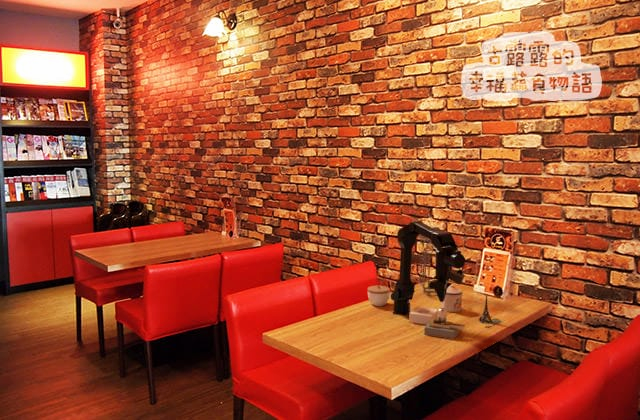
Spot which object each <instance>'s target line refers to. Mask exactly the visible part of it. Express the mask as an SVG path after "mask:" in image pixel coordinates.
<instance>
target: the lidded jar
mask: <svg viewBox="0 0 640 420" xmlns="http://www.w3.org/2000/svg"><path fill="white" fill-rule="evenodd" d="M390 293H391V289H390V287H388V286H385V285H380V284H379V285H371V286H368V287H367V297H368V300H369V302H370V303H371V304H372V306H376V307H383V305H384V306H385V305H386V304H387V303H388V301H389V299H390V297H391V294H390Z"/></svg>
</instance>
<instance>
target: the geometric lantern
mask: <svg viewBox="0 0 640 420" xmlns="http://www.w3.org/2000/svg"><path fill="white" fill-rule="evenodd" d="M432 228H434V229H436V230H438V231H443V230H442V229H441V228H440V227H437V226H433V227H432ZM417 237H419V239H420V243H421V245H422V247H423V250H421V252H422V253H421V265H420V273H419V282H418V283H419V285H420V286H421V287H422V289H423V291H422V293H424V294H425V295H426V296H427V297H438V296H437V294H434V293H436V291H432V290H431V289H430V288H429V283H430V282H431V281H432V280H430V270H431V269H430V263H431V257H436V254H433V252H434V251H433V249H427V248H428V246H429V244H430V245H432V246H433V247H434V248H435V246H434V245H433V244H432V243H431V240H430V239H428V238H426V237H425V236H423V235H421V234H419V235H418V236H417ZM454 241H455V239H454ZM455 242H456V241H455ZM425 243H427V245H426V246H425ZM449 247H451V246H449ZM427 252H430V253H429V254H428V253H427ZM427 262H428V263H427ZM427 264H428V268H427ZM427 269H428V272H427ZM426 272H427V273H428V275H427V273H426ZM426 275H427V276H428V277H427V280H428V281H427V280H426ZM426 283H427V287H425V284H426ZM431 293H433V294H434V295H432V294H431Z"/></svg>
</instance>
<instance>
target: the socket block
mask: <svg viewBox="0 0 640 420" xmlns="http://www.w3.org/2000/svg"><path fill="white" fill-rule="evenodd" d="M436 324H440V323H436ZM444 325H449V324H444ZM449 326H450V325H449ZM459 333H460V329H453V328H450V329H447V328H441V327H434V326H429V323H428V324H427V325H426V324H425V326H424V335H426V336H433V337H439V338H445V339H451V340H455V339H456V337H457V336H458V335H459Z"/></svg>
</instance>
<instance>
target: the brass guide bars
mask: <svg viewBox="0 0 640 420" xmlns="http://www.w3.org/2000/svg"><path fill="white" fill-rule="evenodd" d="M436 323H439V322H438V319H437V315H432V316H431V317H430V318H429V326H434V327H441V328H447V329H450V328H453V329H460V330H461V331H464V328H465V327H466V324H465V323H464V324H463V323H458V322H454V321H448V320H446V323H444V324H449V325H450V326H449V325H442V324H436Z"/></svg>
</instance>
